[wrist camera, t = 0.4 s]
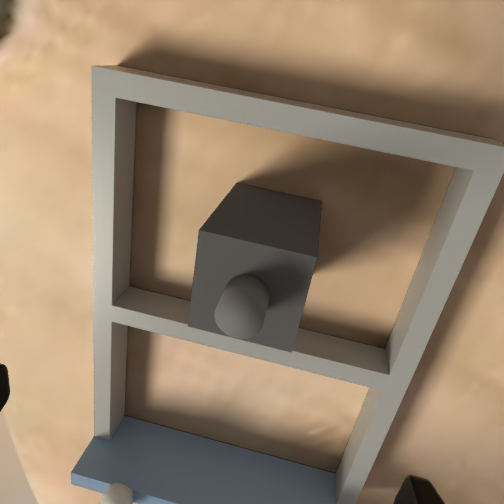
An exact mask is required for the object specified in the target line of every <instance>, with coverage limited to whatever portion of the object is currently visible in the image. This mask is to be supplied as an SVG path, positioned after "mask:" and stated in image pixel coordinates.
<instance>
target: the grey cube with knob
mask: <svg viewBox="0 0 504 504" xmlns="http://www.w3.org/2000/svg"><path fill="white" fill-rule="evenodd" d="M321 207H322V201H319V200H314V199H309V198H305V197H300V196H296V195H291V194H286V193H282V192H277V191H273V190H268V189H263V188H259V187H254V186H249V185H245V184H240V183H236V184H235V186H234V187H233V188H232V189H231V191H230V192H229V193H228V194H227V196H226V197H225V198H224V199H223V201H222V202H221V203H220V204H219V206H218V207H217V208H216V210H215V211H214V212H213V213H212V215H211V216H210V217H209V218H208V220H207V221H206V222H205V223H204V225H203V226H202V227H201V228H200V230H199V235H198V243H197V252H196V260H195V268H194V277H193V285H192V294H191V302H190V311H189V319H188V327H192V328H196V329H200V330H203V331H207V332H211V333H215V334H219V335H223V336H227V337H231V338H235V339H239V340H243V341H247V342H251V343H255V344H259V345H263V346H267V347H271V348H275V349H279V350H283V351H287V352H291V353H292V350H293V346H294V343H295V339H296V335H297V331H298V328H299V324H300V320H301V316H302V313H303V309H304V305H305V301H306V298H307V294H308V290H309V286H310V283H311V279H312V275H313V271H314V268H315V264H316V260H317V254H318V242H319V230H320V219H321Z"/></svg>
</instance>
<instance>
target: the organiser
mask: <svg viewBox="0 0 504 504" xmlns="http://www.w3.org/2000/svg"><path fill="white" fill-rule="evenodd" d="M137 102H139V103H144V104H149V105H154V106H159V107H164V108H169V109H174V110H179V111H184V112H188V113H193V114H198V115H203V116H208V117H213V118H218V119H223V120H228V121H233V122H238V123H243V124H247V125H252V126H257V127H262V128H267V129H272V130H277V131H282V132H287V133H292V134H297V135H302V136H306V137H311V138H316V139H321V140H326V141H331V142H336V143H341V144H346V145H351V146H356V147H361V148H365V149H370V150H375V151H380V152H385V153H390V154H395V155H400V156H405V157H410V158H415V159H420V160H424V161H429V162H434V163H439V164H444V165H449V166H454V167H456V169H455V172H454V174H453V177H452V179H451V182H450V184H449V187H448V189H447V192H446V195H445V197H444V200H443V202H442V205H441V207H440V210H439V212H438V215H437V217H436V220H435V223H434V225H433V228H432V230H431V233H430V235H429V238H428V240H427V243H426V245H425V248H424V251H423V253H422V256H421V258H420V261H419V263H418V266H417V268H416V271H415V273H414V276H413V279H412V281H411V284H410V286H409V289H408V291H407V294H406V296H405V299H404V301H403V304H402V307H401V309H400V312H399V314H398V317H397V319H396V322H395V324H394V327H393V329H392V332H391V335H390V337H389V340H388V342H387V345H386V347H385V349H383V348H379V347H375V346H371V345H367V344H363V343H359V342H355V341H351V340H346V339H342V338H338V337H334V336H330V335H326V334H322V333H318V332H314V331H310V330H306V329H302V328H298V331H297V335H296V339H295V343H294V346H293V350H292V353H291V352H287V351H283V350H279V349H275V348H271V347H267V346H263V345H259V344H255V343H251V342H247V341H243V340H239V339H235V338H231V337H227V336H223V335H219V334H215V333H211V332H207V331H203V330H200V329H196V328H192V327H188V319H189V311H190V302H191V301H188V300H184V299H180V298H175V297H171V296H167V295H163V294H159V293H155V292H151V291H147V290H143V289H139V288H135V287H131V286H129V283H130V257H131V232H132V206H133V180H134V155H135V129H136V103H137ZM503 173H504V144H503V143H501V142H499V141H497V140H494V139H489V138H484V137H479V136H474V135H469V134H464V133H459V132H453V131H448V130H443V129H438V128H433V127H428V126H423V125H418V124H413V123H408V122H402V121H397V120H392V119H387V118H382V117H377V116H372V115H367V114H362V113H357V112H351V111H346V110H341V109H336V108H331V107H326V106H321V105H316V104H311V103H305V102H300V101H295V100H290V99H285V98H280V97H275V96H270V95H265V94H260V93H254V92H249V91H244V90H239V89H234V88H229V87H224V86H219V85H214V84H209V83H203V82H198V81H193V80H188V79H183V78H178V77H173V76H168V75H163V74H158V73H152V72H147V71H142V70H137V69H132V68H127V67H122V66H117V65H107V66H92V195H93V342H94V437H93V439H92V440H91V442H90V444H89V445H88V447H87V448H86V450H85V451H84V453H83V455H82V456H81V458H80V459H79V461H78V462H77V464H76V465H75V467H74V469H73V470H72V472H71V484H73V485H77V486H80V487H83V488H87V489H90V490H94V491H97V492H100V493H104V496H103V498H102V500H101V502H100V504H132V503H133V502H134V503H138V504H356V502H357V499H358V497H359V495H360V493H361V490H362V488H363V486H364V484H365V482H366V479H367V477H368V475H369V473H370V470H371V468H372V466H373V464H374V461H375V459H376V457H377V455H378V452H379V450H380V448H381V446H382V444H383V441H384V439H385V437H386V435H387V432H388V430H389V428H390V426H391V423H392V421H393V419H394V417H395V415H396V412H397V410H398V408H399V406H400V403H401V401H402V399H403V397H404V394H405V392H406V390H407V388H408V386H409V383H410V381H411V379H412V377H413V374H414V372H415V370H416V368H417V365H418V363H419V361H420V359H421V356H422V354H423V352H424V350H425V348H426V345H427V343H428V341H429V339H430V336H431V334H432V332H433V330H434V327H435V325H436V323H437V321H438V319H439V316H440V314H441V312H442V310H443V307H444V305H445V303H446V301H447V298H448V296H449V294H450V292H451V290H452V287H453V285H454V283H455V281H456V278H457V276H458V274H459V272H460V269H461V267H462V265H463V263H464V260H465V258H466V256H467V254H468V252H469V249H470V247H471V245H472V243H473V240H474V238H475V236H476V234H477V231H478V229H479V227H480V225H481V223H482V220H483V218H484V216H485V214H486V211H487V209H488V207H489V205H490V202H491V200H492V198H493V196H494V194H495V191H496V189H497V187H498V185H499V182H500V180H501V178H502V176H503ZM128 326H131V327H135V328H139V329H143V330H147V331H151V332H155V333H158V334H162V335H166V336H170V337H174V338H178V339H182V340H186V341H190V342H194V343H198V344H202V345H206V346H210V347H213V348H217V349H221V350H225V351H229V352H233V353H237V354H241V355H245V356H249V357H253V358H257V359H261V360H264V361H268V362H272V363H276V364H280V365H284V366H288V367H292V368H296V369H300V370H304V371H308V372H312V373H316V374H319V375H323V376H327V377H331V378H335V379H339V380H343V381H347V382H351V383H355V384H359V385H363V386H367V387H370V388H369V391H368V393H367V396H366V398H365V401H364V403H363V406H362V408H361V411H360V413H359V416H358V419H357V421H356V424H355V426H354V429H353V431H352V434H351V436H350V439H349V441H348V444H347V447H346V449H345V452H344V454H343V457H342V459H341V462H340V464H339V467H338V469H337V472H336V474H335V473H331V472H328V471H324V470H320V469H317V468H313V467H310V466H306V465H302V464H299V463H295V462H291V461H288V460H284V459H281V458H277V457H273V456H270V455H266V454H262V453H259V452H255V451H251V450H248V449H244V448H241V447H237V446H233V445H230V444H226V443H222V442H219V441H215V440H212V439H208V438H204V437H201V436H197V435H193V434H190V433H186V432H182V431H179V430H175V429H172V428H168V427H164V426H161V425H157V424H153V423H150V422H146V421H143V420H139V419H135V418H132V417H128V416H124V411H125V385H126V360H127V334H128Z"/></svg>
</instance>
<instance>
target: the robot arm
mask: <svg viewBox="0 0 504 504" xmlns="http://www.w3.org/2000/svg"><path fill="white" fill-rule="evenodd" d="M9 395H10V386H9V377H8V370H7V367H6V366H5V365H4V364H0V411H1V410H2V408H3V407H4V405H5V404H6V402H7V400H8V398H9ZM394 504H445V503H444V501H443V500H442V498H441V497H440V495H439V494H438V493H437V491H436V490H435V488H434V487H433V485H432V484H431V482H430V481H428V480H427V479H425V478H421V477H417V476H414V475H408V476H407V477H406V478H405V480H404V482H403V484H402V486H401V488H400V490H399V492H398V494H397V496H396V498H395V501H394Z"/></svg>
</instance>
